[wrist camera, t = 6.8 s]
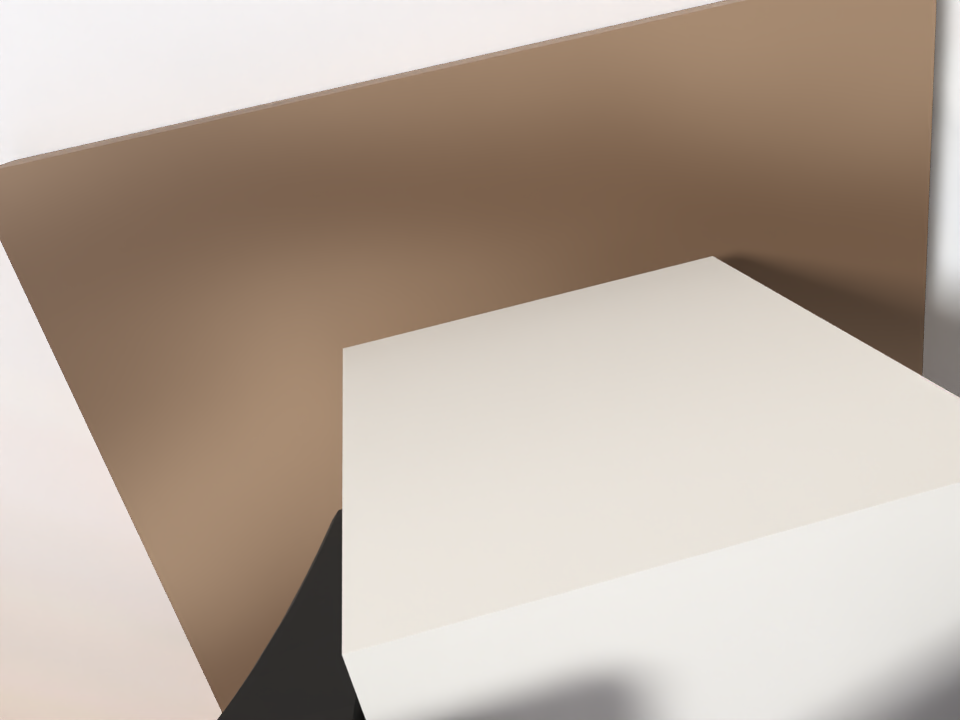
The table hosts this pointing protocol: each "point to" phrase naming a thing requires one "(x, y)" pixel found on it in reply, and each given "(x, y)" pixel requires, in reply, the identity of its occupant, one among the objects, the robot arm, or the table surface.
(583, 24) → the table surface
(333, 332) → the board
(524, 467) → the plaster cube
